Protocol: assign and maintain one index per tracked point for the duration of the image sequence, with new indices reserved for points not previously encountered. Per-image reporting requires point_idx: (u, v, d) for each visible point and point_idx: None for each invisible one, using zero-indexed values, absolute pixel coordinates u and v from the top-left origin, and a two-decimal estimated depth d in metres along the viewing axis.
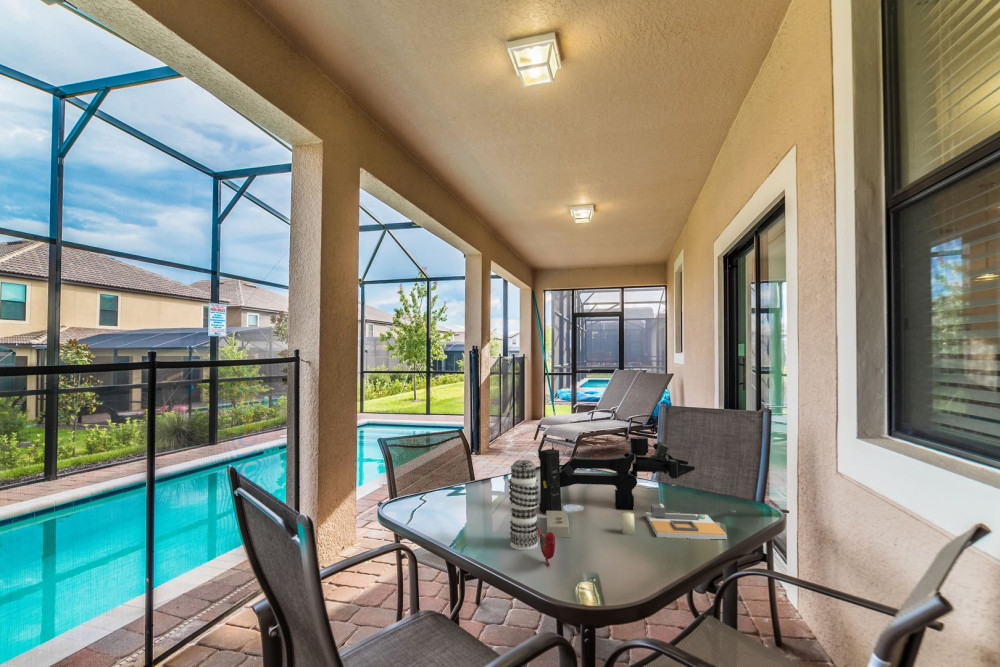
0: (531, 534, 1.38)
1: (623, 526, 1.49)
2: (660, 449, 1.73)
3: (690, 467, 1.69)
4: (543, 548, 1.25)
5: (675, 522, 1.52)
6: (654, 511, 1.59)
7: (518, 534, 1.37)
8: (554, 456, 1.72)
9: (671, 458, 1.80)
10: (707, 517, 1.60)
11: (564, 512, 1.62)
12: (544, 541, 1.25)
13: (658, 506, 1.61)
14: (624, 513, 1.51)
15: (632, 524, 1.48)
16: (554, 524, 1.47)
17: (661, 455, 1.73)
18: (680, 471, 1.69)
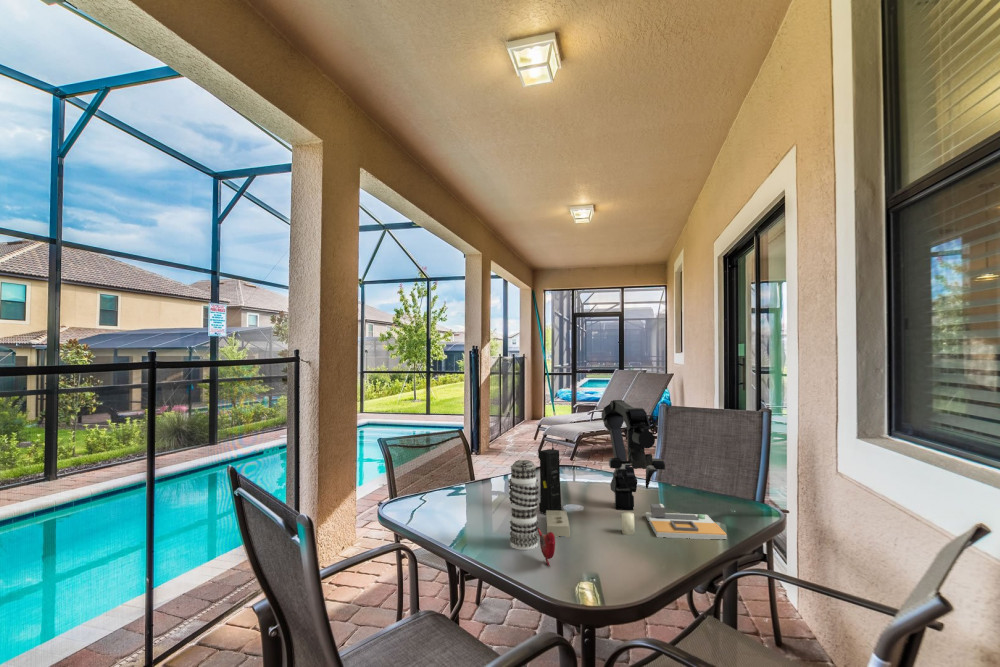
0: (531, 534, 1.38)
1: (623, 526, 1.49)
2: (631, 458, 1.58)
3: (625, 483, 1.63)
4: (543, 548, 1.25)
5: (675, 522, 1.52)
6: (654, 511, 1.59)
7: (518, 534, 1.37)
8: (554, 456, 1.72)
9: (648, 472, 1.61)
10: (707, 517, 1.60)
11: (564, 512, 1.63)
12: (544, 541, 1.25)
13: (658, 506, 1.61)
14: (624, 513, 1.51)
15: (632, 524, 1.48)
16: (554, 524, 1.48)
17: (630, 457, 1.60)
18: None
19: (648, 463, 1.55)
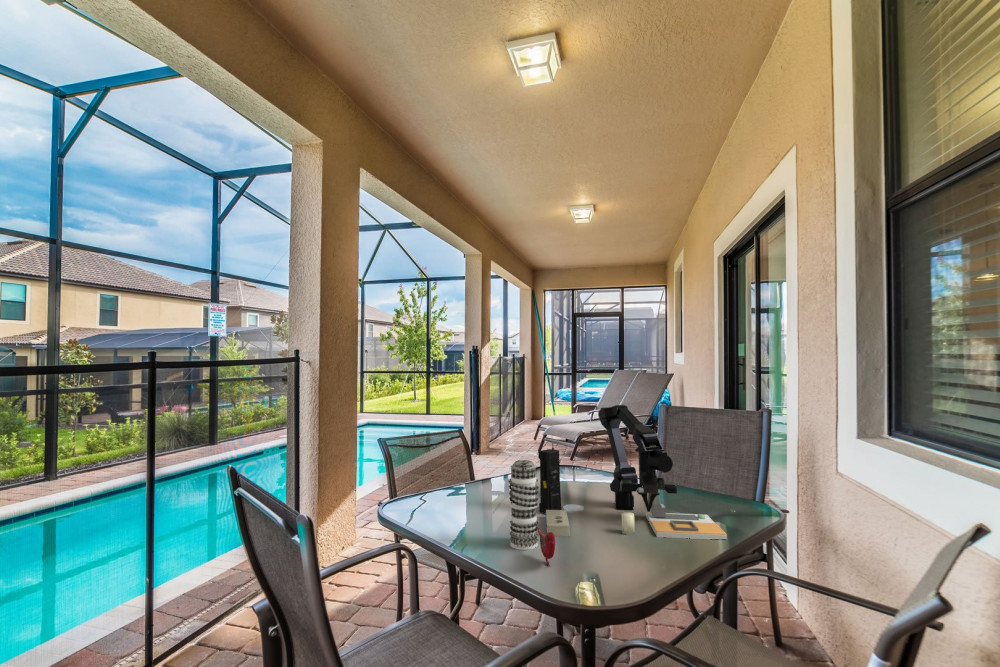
0: (531, 534, 1.38)
1: (623, 526, 1.49)
2: (643, 482, 1.57)
3: (646, 506, 1.61)
4: (543, 548, 1.25)
5: (675, 522, 1.52)
6: (654, 511, 1.59)
7: (518, 534, 1.37)
8: (554, 456, 1.72)
9: (650, 495, 1.60)
10: (707, 517, 1.60)
11: (564, 511, 1.63)
12: (544, 541, 1.25)
13: (658, 506, 1.61)
14: (624, 513, 1.51)
15: (632, 524, 1.48)
16: (554, 523, 1.48)
17: (641, 481, 1.59)
18: None
19: (660, 487, 1.54)
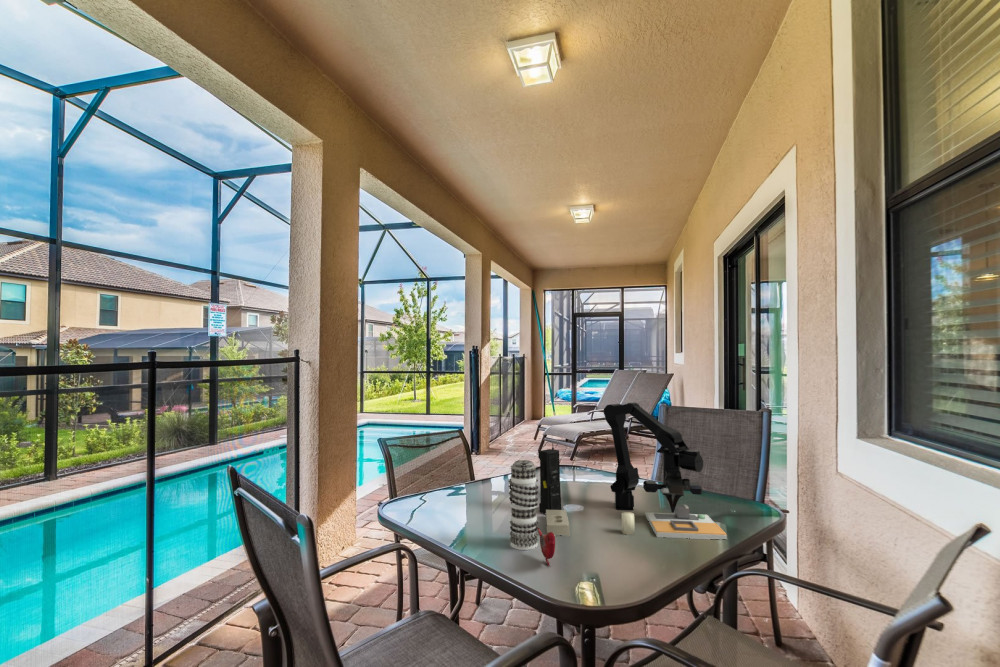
0: (531, 534, 1.38)
1: (623, 526, 1.49)
2: (668, 482, 1.55)
3: (670, 507, 1.60)
4: (543, 548, 1.25)
5: (675, 522, 1.52)
6: (678, 512, 1.58)
7: (518, 534, 1.37)
8: (554, 456, 1.72)
9: (674, 496, 1.59)
10: (707, 517, 1.60)
11: (563, 511, 1.63)
12: (544, 541, 1.25)
13: (682, 507, 1.60)
14: (624, 513, 1.51)
15: (632, 524, 1.48)
16: (554, 523, 1.49)
17: (666, 481, 1.58)
18: None
19: (686, 488, 1.53)
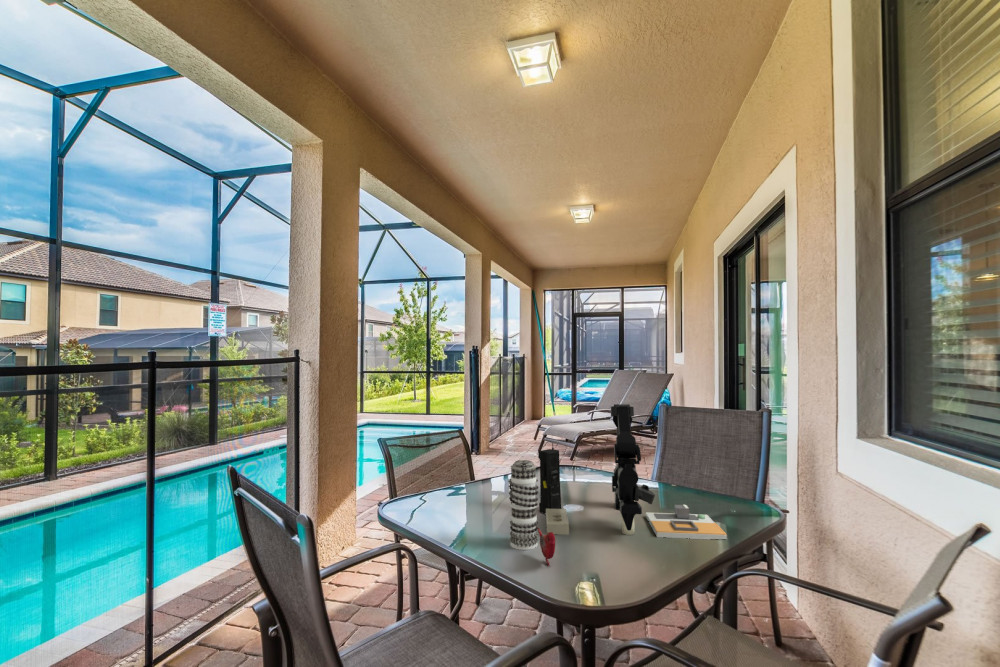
0: (531, 534, 1.38)
1: (623, 526, 1.49)
2: (647, 494, 1.47)
3: (630, 525, 1.47)
4: (543, 548, 1.25)
5: (675, 522, 1.52)
6: (678, 512, 1.58)
7: (518, 534, 1.37)
8: (554, 456, 1.72)
9: None
10: (707, 517, 1.60)
11: (563, 510, 1.65)
12: (544, 541, 1.25)
13: (682, 507, 1.60)
14: None
15: (632, 524, 1.48)
16: (554, 522, 1.50)
17: (641, 495, 1.47)
18: (625, 514, 1.47)
19: None
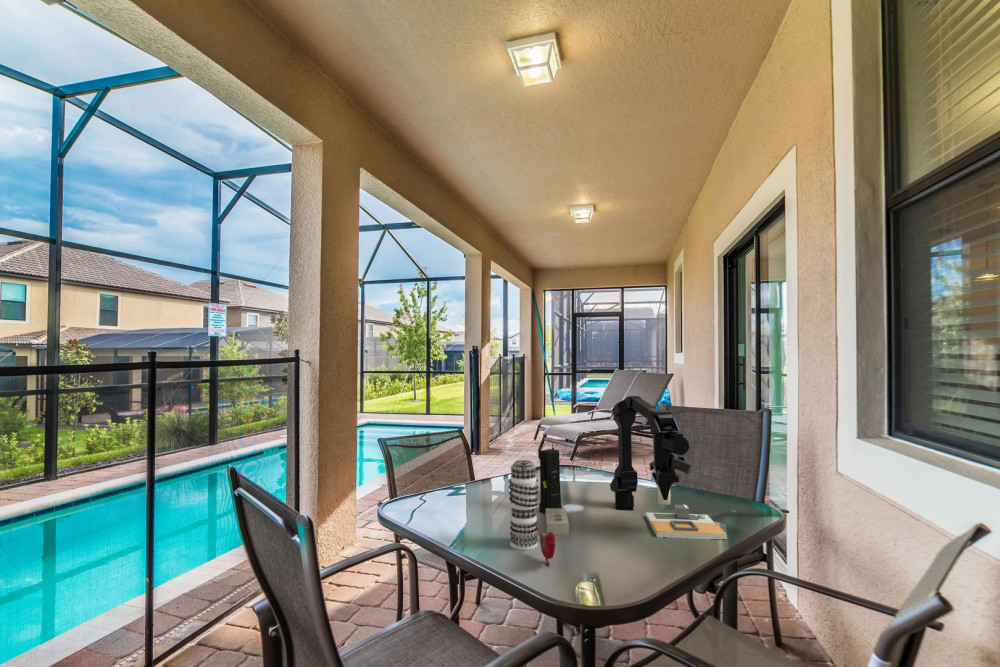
0: (531, 534, 1.38)
1: (659, 496, 1.49)
2: (684, 464, 1.47)
3: (666, 495, 1.47)
4: (543, 548, 1.25)
5: (675, 522, 1.52)
6: (678, 512, 1.58)
7: (518, 534, 1.37)
8: (554, 456, 1.72)
9: None
10: (707, 517, 1.60)
11: (563, 509, 1.65)
12: (544, 541, 1.25)
13: (682, 507, 1.60)
14: None
15: None
16: (554, 521, 1.50)
17: (677, 464, 1.48)
18: (662, 483, 1.47)
19: None
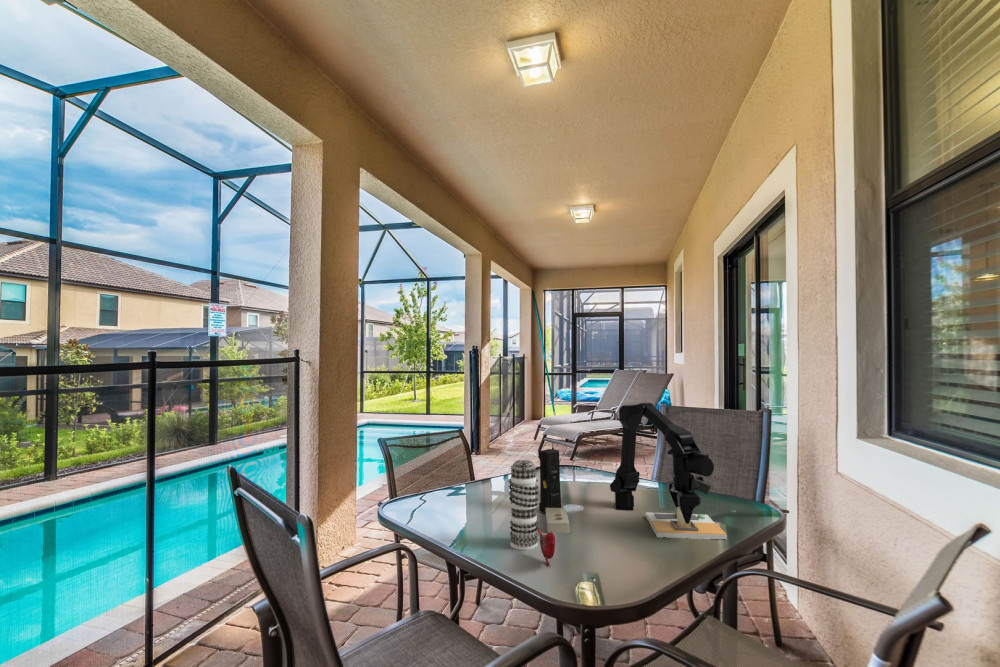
0: (531, 534, 1.38)
1: (679, 520, 1.49)
2: (704, 485, 1.47)
3: (688, 518, 1.44)
4: (543, 548, 1.25)
5: (675, 522, 1.52)
6: None
7: (518, 534, 1.37)
8: (554, 456, 1.72)
9: None
10: (707, 517, 1.60)
11: (563, 509, 1.66)
12: (544, 541, 1.25)
13: None
14: (679, 507, 1.50)
15: None
16: (554, 520, 1.51)
17: (697, 485, 1.47)
18: (684, 507, 1.44)
19: None
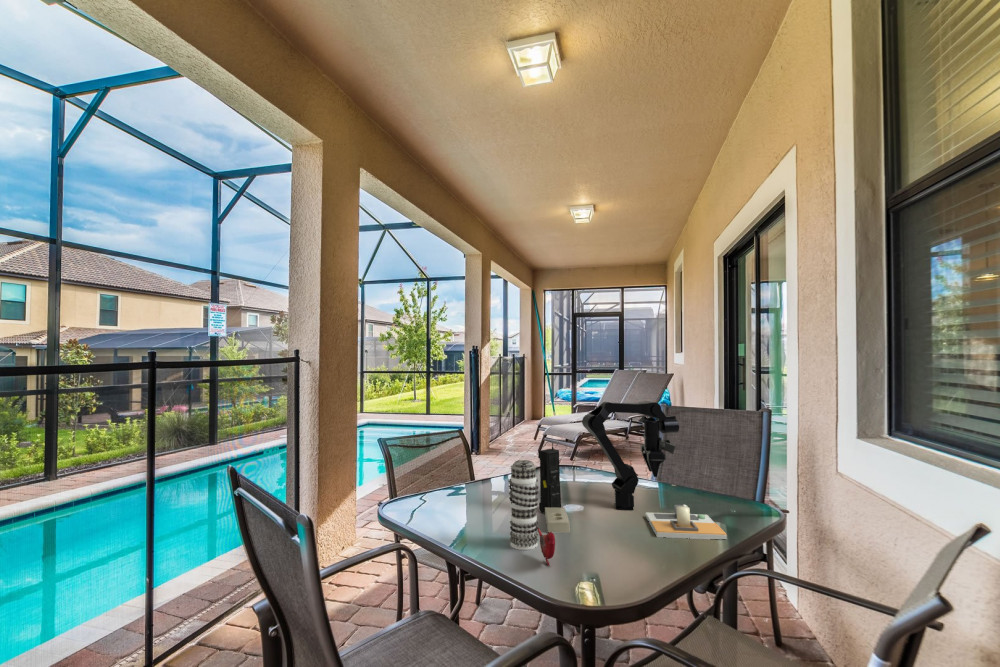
0: (531, 534, 1.38)
1: (678, 520, 1.49)
2: (669, 445, 1.77)
3: (656, 473, 1.74)
4: (543, 548, 1.25)
5: (675, 522, 1.52)
6: None
7: (518, 534, 1.37)
8: (554, 456, 1.72)
9: None
10: (707, 517, 1.60)
11: (562, 508, 1.66)
12: (544, 541, 1.25)
13: None
14: (679, 507, 1.51)
15: (688, 518, 1.48)
16: (555, 520, 1.51)
17: (664, 446, 1.77)
18: (652, 463, 1.74)
19: None
